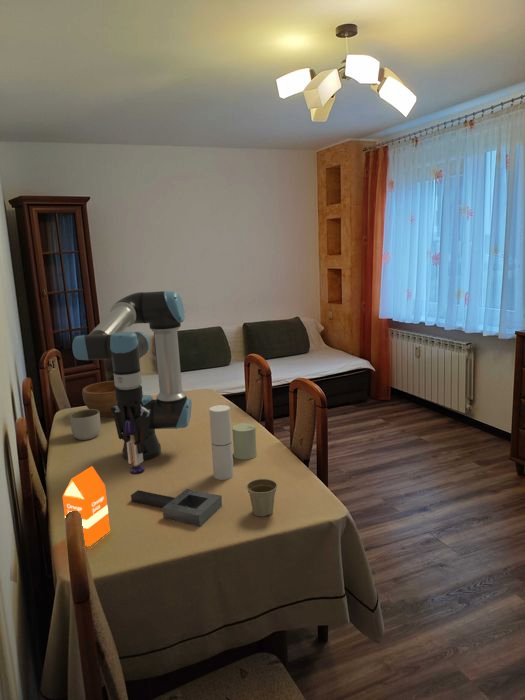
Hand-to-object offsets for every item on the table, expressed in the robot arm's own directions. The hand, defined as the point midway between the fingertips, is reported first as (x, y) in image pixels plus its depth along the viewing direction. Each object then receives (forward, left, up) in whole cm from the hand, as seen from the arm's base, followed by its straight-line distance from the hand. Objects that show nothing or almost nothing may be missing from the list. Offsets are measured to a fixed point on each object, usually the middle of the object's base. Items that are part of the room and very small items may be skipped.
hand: (135, 462), depth 149 cm
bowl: (-78, +75, -18) cm, 109 cm away
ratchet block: (+5, +9, -18) cm, 21 cm away
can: (+8, +54, -18) cm, 57 cm away
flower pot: (+33, +17, -18) cm, 41 cm away
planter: (-68, +48, -18) cm, 85 cm away
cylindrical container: (+9, +35, -18) cm, 40 cm away
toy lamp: (0, 0, -3) cm, 3 cm away
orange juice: (-7, -14, -18) cm, 24 cm away
